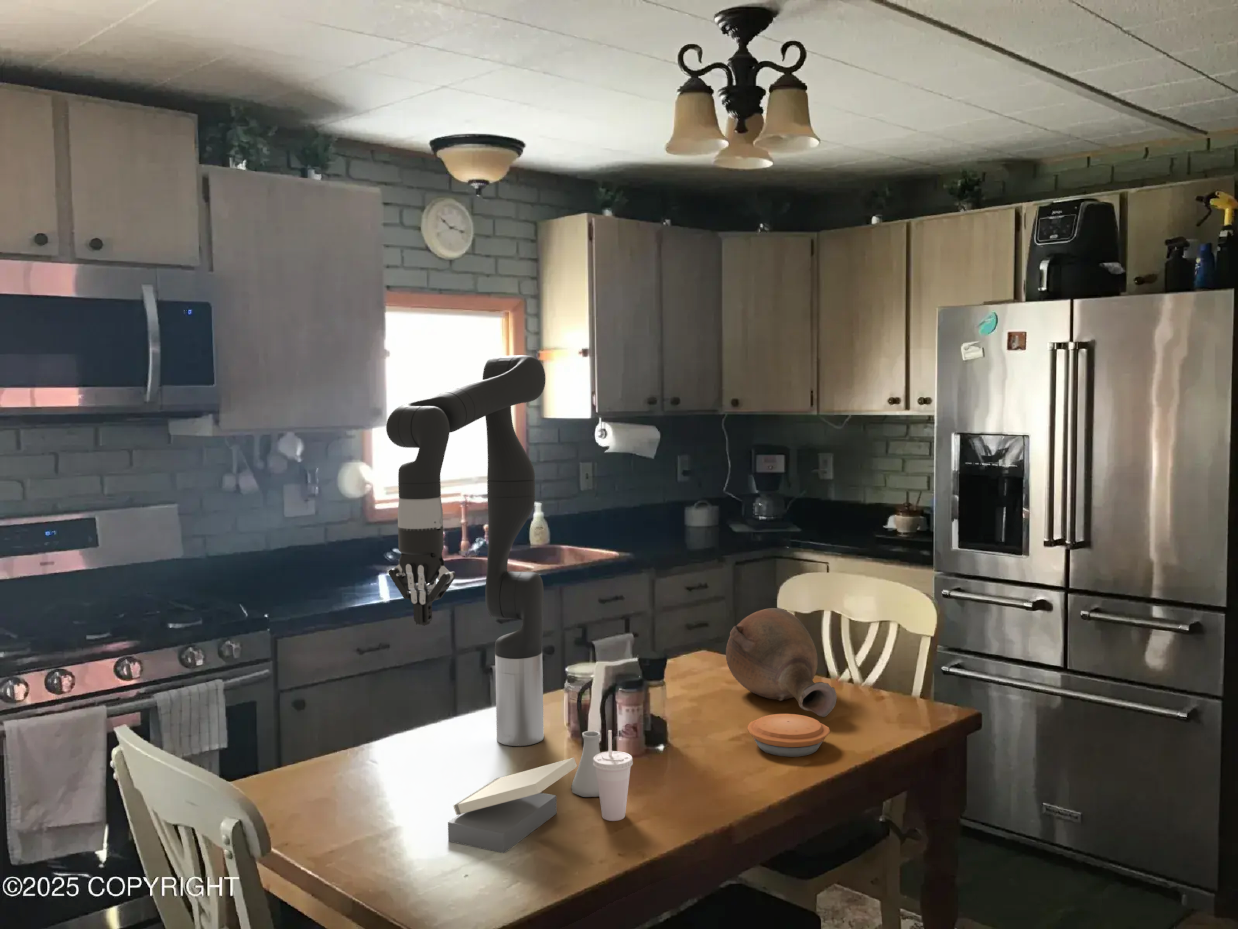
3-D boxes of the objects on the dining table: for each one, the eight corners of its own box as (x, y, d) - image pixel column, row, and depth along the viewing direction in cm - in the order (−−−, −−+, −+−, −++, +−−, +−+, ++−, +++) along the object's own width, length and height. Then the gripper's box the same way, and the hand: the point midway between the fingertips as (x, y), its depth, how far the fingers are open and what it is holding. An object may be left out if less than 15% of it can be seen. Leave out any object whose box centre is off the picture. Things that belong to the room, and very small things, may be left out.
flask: (564, 786, 183) (563, 730, 182) (602, 780, 186) (602, 724, 185) (580, 801, 176) (579, 743, 175) (619, 794, 179) (619, 737, 178)
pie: (794, 768, 191) (794, 741, 190) (730, 746, 202) (730, 721, 202) (846, 747, 201) (846, 722, 200) (782, 728, 212) (782, 704, 212)
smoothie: (611, 805, 174) (610, 722, 173) (641, 814, 170) (640, 730, 169) (585, 817, 169) (584, 732, 168) (616, 828, 165) (615, 740, 164)
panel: (495, 778, 174) (574, 757, 167) (498, 788, 173) (577, 766, 166) (452, 805, 163) (535, 783, 156) (456, 815, 163) (538, 793, 156)
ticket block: (504, 803, 175) (503, 786, 175) (556, 813, 171) (556, 795, 171) (448, 841, 161) (447, 822, 161) (503, 853, 157) (503, 833, 157)
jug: (719, 685, 243) (778, 748, 215) (708, 608, 237) (768, 663, 209) (797, 660, 248) (865, 719, 221) (789, 585, 242) (857, 635, 215)
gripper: (375, 524, 178) (378, 626, 179) (439, 528, 172) (442, 633, 173) (402, 519, 184) (405, 617, 186) (465, 523, 179) (468, 623, 180)
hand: (423, 624), depth 180 cm, fingers closed
